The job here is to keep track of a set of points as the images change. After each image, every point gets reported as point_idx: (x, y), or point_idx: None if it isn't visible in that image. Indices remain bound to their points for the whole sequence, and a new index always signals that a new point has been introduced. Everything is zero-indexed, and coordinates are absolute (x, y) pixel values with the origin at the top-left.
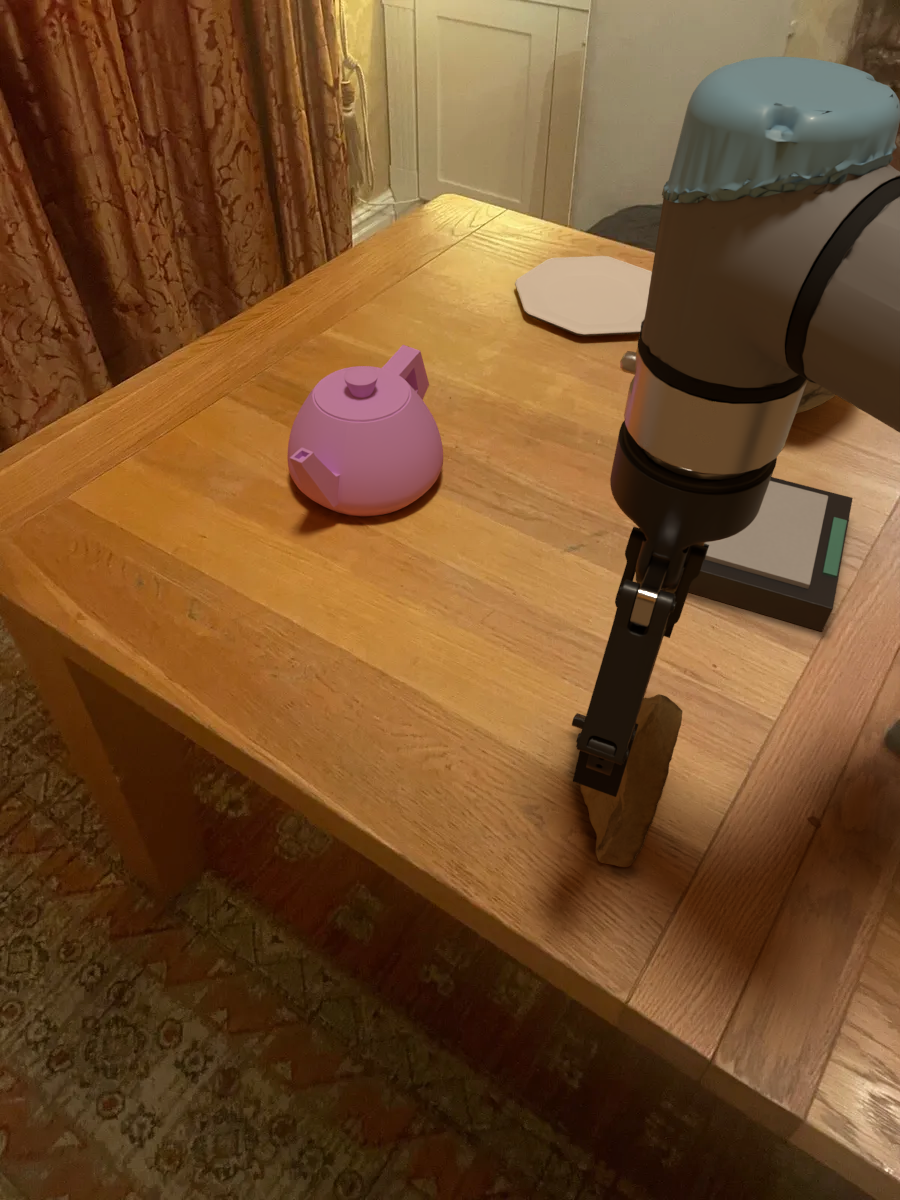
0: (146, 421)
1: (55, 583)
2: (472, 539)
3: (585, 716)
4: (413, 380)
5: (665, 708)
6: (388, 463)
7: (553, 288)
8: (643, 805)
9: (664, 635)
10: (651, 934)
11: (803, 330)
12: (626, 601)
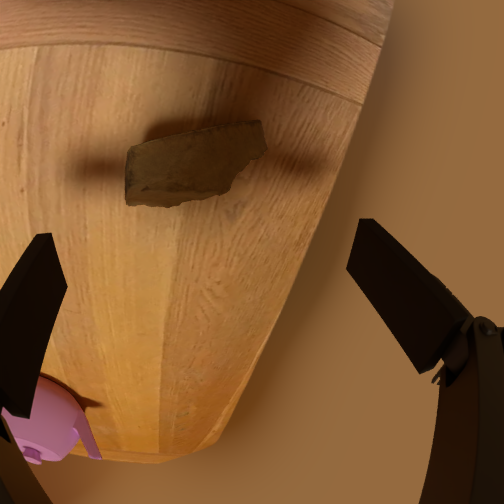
0: (100, 452)
1: (202, 440)
2: None
3: (439, 375)
4: None
5: (145, 172)
6: (45, 418)
7: None
8: (244, 138)
9: (52, 242)
10: (312, 92)
11: None
12: None
